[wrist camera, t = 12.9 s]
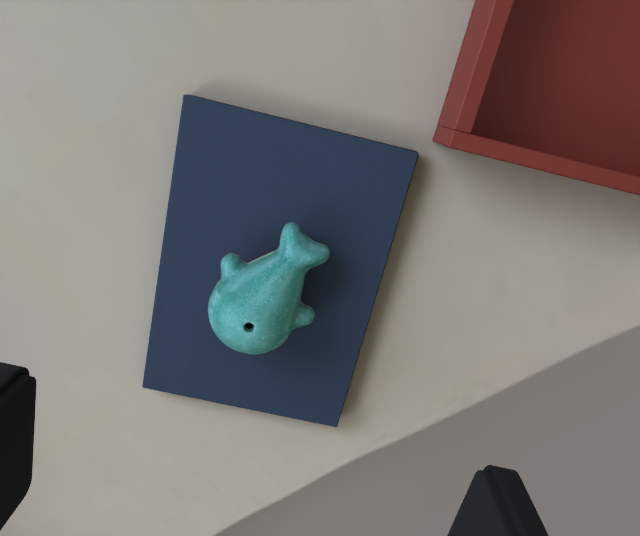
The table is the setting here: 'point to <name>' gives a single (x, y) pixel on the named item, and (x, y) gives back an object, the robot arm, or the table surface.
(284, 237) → the whale figurine
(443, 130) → the bin
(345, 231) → the play mat
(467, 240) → the table surface
